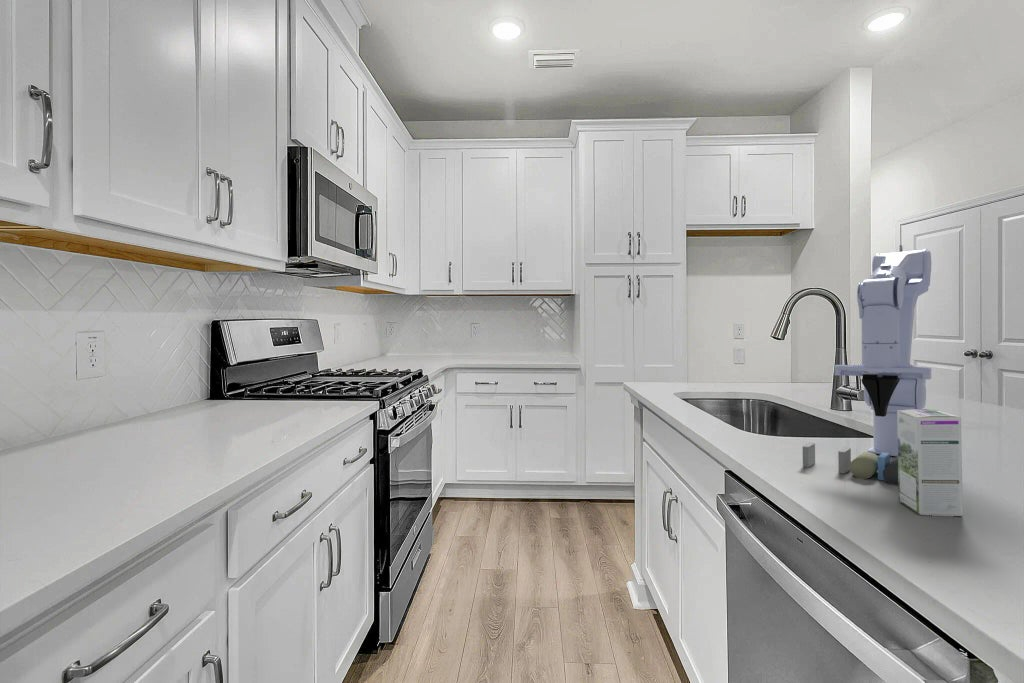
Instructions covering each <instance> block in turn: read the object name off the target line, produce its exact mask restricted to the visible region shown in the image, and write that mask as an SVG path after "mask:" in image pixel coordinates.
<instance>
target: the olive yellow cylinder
mask: <svg viewBox="0 0 1024 683" xmlns="http://www.w3.org/2000/svg"><path fill="white" fill-rule="evenodd" d="M878 456H879V455H878V454H875V453H871V452H868V451H865V452H862V453H861V454H859V455H858V456H857V457H855V458H854V459H852V460H851V463H850V466H849V469H850V470H849V471H850V473H851V474H852V476H854V477H855V478H856V479H858V478H859V479H862V478H863V480H867V479H870V478H871V477H872V476H873V475H875V473H877V472H878Z"/></svg>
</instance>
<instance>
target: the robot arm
mask: <svg viewBox="0 0 1024 683" xmlns="http://www.w3.org/2000/svg"><path fill="white" fill-rule="evenodd" d="M871 263H872V264H871V269H872V274H871V275H870V277H869V278H868V279H864V280H863V282H859V283H858V285H857V289H856V290H857V291H856V301H857V306H858V315H859V319H861V364H835V365H834V366H833V369H834V370H833V371H834V374H833V375H834V376H850V377H851V376H852V377H853V376H854V377H862V379H861V383H862V385H863V400H864V403H865V405H867V406H868V407H870V410H872V412H873V413H872V414H873V415H872V418H873V419H872V420H873V422H872V423H873V425H872V426H873V430H872V431H873V433H872V434H873V446H871V447H869V449H867V452H871V453H874V454H876V455H881V454H882V453H883V452H884V453H890V456H893V457H897V456H898V431H897V410H909V409H925V407H926V401H927V387H926V385H927V384H926V380H931V379H932V367H922V366H914V365H913V364H912V363H911V356H912V355H911V354H912V342H913V332H914V330H913V329H914V317H915V308H916V304H917V301H918V298H919V296H921V295H923V294H925V293H927V292H929V287H930V286H931V276H932V275H931V274H932V253H931V251H930V250H929V249H928V248H923V249H919V250H918V249H917V250H909V251H908V250H907V251H897V252H888V253H879V252H877V253H876V254H875V255H874V256H873V258H872V262H871Z"/></svg>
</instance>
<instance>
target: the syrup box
mask: <svg viewBox="0 0 1024 683" xmlns="http://www.w3.org/2000/svg"><path fill="white" fill-rule="evenodd" d="M897 431H898V485H899V486H898V485H897V486H898V502H899V503H900V504H903V505H904V506H905V507H907V508H909V509H910V510H911V511H913V512H915V513H917V514H918V515H921V516H929V515H930V516H931V515H932V516H931V517H953V516H962V517H963V515H964V514H963V513H964V512H963V510H964V508H963V505H964V503H963V500H964V499H963V497H964V496H963V462H962V461H963V454H962V453H963V452H962V450H963V449H962V446H963V445H962V417H961V416H959V415H955V414H951V413H948V412H944V411H941V410H937V409H928V408H927V409H926V408H923V409H909V410H897Z"/></svg>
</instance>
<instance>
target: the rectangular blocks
mask: <svg viewBox="0 0 1024 683" xmlns="http://www.w3.org/2000/svg"><path fill="white" fill-rule="evenodd" d="M851 453H852V451H851V447H846V446H844V447H842V448H841V449H840V450H838V456H837V457H838V458H837V459H838V460H837V461H838V473H839V474H843V475H844V474H847V473H848V472H849V471H850V469H849V466H850V463H851V462H852V457H851V456H852V454H851ZM877 456H878V470H877V480H880V481H885V479H884V477H883V470H884V469H885V468H886V467H887V466H888V465H889V464H890V463H891V457H890V453H884V452H883V453H882V454H878V455H877ZM815 464H816V443H815V442H808V443H806V444H804V445H803V446H802V467H803V468H808V469H809V468H811V467H812V466H813V465H815Z"/></svg>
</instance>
